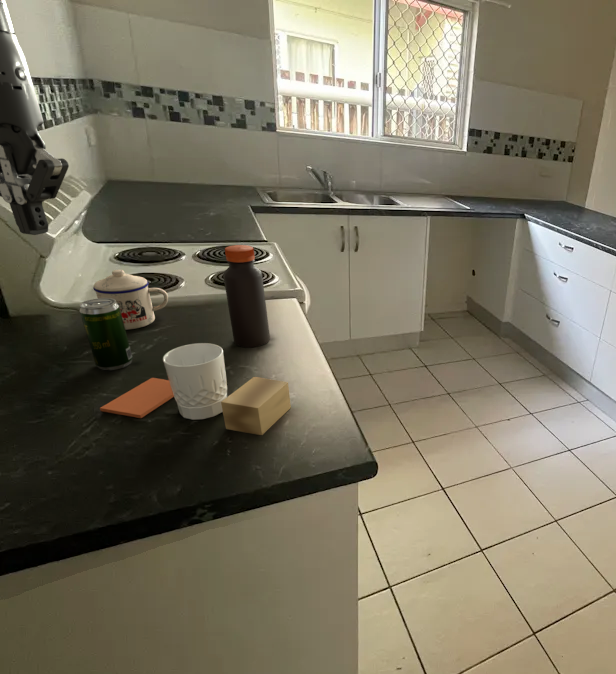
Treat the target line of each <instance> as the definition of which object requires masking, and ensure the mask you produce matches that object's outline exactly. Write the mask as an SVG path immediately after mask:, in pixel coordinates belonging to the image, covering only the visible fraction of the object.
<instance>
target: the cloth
mask: <svg viewBox="0 0 616 674" xmlns="http://www.w3.org/2000/svg"><path fill="white" fill-rule="evenodd" d="M173 398H175V397H174V394H173V391H172V389H171V386H170V382H169V379H163V378H156V377H151V378H149V379H147V380H146V381H144V382H142V383H140V384H139V385H137V386H135V387H134V388H132V389H130V390H129V391H126V392H125V393H123V394H121V395H120V396H118V397H116V398H115V399H112V400H111V401H109V402H107V403H106V404H104V405H102V406H101V407H99V410H100V412H104V413H109V414H115V415H120V416H125V417H126V416H127V417H132V418H138V419H142V418H145V417H146V416H147V415H148V414H150V413H151V412H153V411H154V410H156V409H158V408H159V407H160V406H162V405H163V404H165V403H167V402H168V401H170V400H171V399H173Z"/></svg>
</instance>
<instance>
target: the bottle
mask: <svg viewBox="0 0 616 674" xmlns="http://www.w3.org/2000/svg"><path fill="white" fill-rule="evenodd" d="M224 253H225V254H224V255H225V260H226V263H228V267H227V268H226V269H225V270H224V272H223V274H222V277H223V282H224V288H225V294H226V300H227V308H228V313H229V319H230V326H231V332H232V337H233V338H232V339H233V343H234V344H235V345H236V346H239V347H242V348H256V347H260V346H264V345H265V344H268V343H269V341H270V340H271V334H270V327H269V325H270V324H269V318H268V311H267V302H266V295H265V287H264V280H263V279H264V278H263V272H262V270H261V269H259V268H258V267H257V266H256V265H255V264H254V262H256V260H255V258H256V257H255V250H254V247H253V246H251V245H247V244H246V245H245V244H236V245H235V244H234V245H229V246H226V247H224Z"/></svg>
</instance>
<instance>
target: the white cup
mask: <svg viewBox="0 0 616 674" xmlns="http://www.w3.org/2000/svg"><path fill="white" fill-rule="evenodd" d="M223 349H224V348H222V347H221V346H220V345H217V344H215V343H210V342H209V343H208V342H198V343H197V342H196V343H190V344H185V345H181V346H178V347H175V348H172V349H171V350H169V351H167V352H166V353H165V354H164V355H163V356H162V362H163V366H164V368H165V372H166V376H167V380H169V382H170V386H171V389H172V391H173V394H174V397H173V398H174V401H175V402H176V405H177V409H178V411H179V414H180V415H181V416H182V417H183V418H184V419H188V420H193V421H194V420H205V419H209V418H213V417H215V416H218V415H219V414H221V413H223V410H222V405H221V401H223V400H224V399H225V398H227V397H228V385H227V384H228V382H227V381H228V380H227V372H226V365H225V356H224V350H223Z"/></svg>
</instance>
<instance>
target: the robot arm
mask: <svg viewBox="0 0 616 674" xmlns="http://www.w3.org/2000/svg"><path fill="white" fill-rule="evenodd" d="M32 79H33V78H32V76H31V72H30V69H29V65H28V62H27V58H26V56H25V54H24V52H23V49H22V47H21V45H20V43H19V40H18V37H17V35H16V31H15V27H14V23H13V21H12V17H11V14H10V10H9V7H8V3H7V0H0V197H1V198H2V199H3V200H4V202H6V203H7V204H9V206H10V209H11V213H12V215H13V218H14V221H15V224H16V226H17V227H18V230H19V232H20V233H21V234H22V235H23V234H24V235H30V236H38V235H43V234H47V233H48V232H49V222H48V219H47V217H46V212H45V209H44V207H43V203H44V202H45V201H47V200H53V199H56V198H57V195H58V193H59V192H60V188H61V186H62V183H63V182H64V179H65V176H66V174H67V172H68V169H69V167H70V165H69V162H68V161H67V160H66V159H65V158H62V157H61V158H56V157H55V156H53V155H52V154H51V153H50V152H49V151H48V150H46V148H47V147H46V143H45V141H44V140H43V138H42V137H41V135H40V133H39V131H38V127H39V126H42V125H43V124H44V118H43V114H42V111H41V107H40V103H39V99H38V96H37V93H36V90H35V86H34V82H33V80H32Z"/></svg>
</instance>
